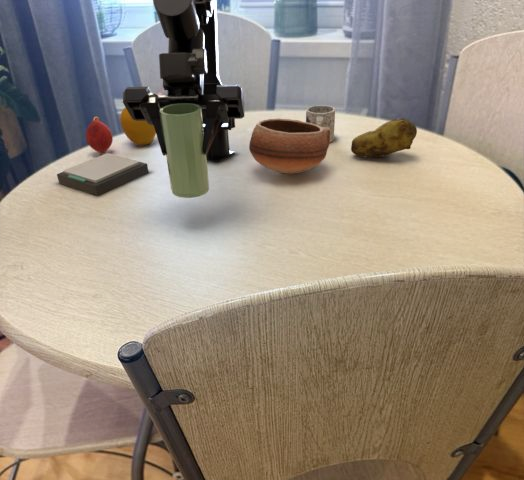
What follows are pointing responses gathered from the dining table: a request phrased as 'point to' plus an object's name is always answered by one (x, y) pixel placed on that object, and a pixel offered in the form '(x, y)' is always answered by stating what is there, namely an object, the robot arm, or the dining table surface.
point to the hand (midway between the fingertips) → (184, 153)
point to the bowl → (289, 144)
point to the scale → (102, 173)
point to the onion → (99, 136)
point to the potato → (385, 139)
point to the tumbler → (185, 149)
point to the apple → (137, 129)
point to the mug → (322, 117)
